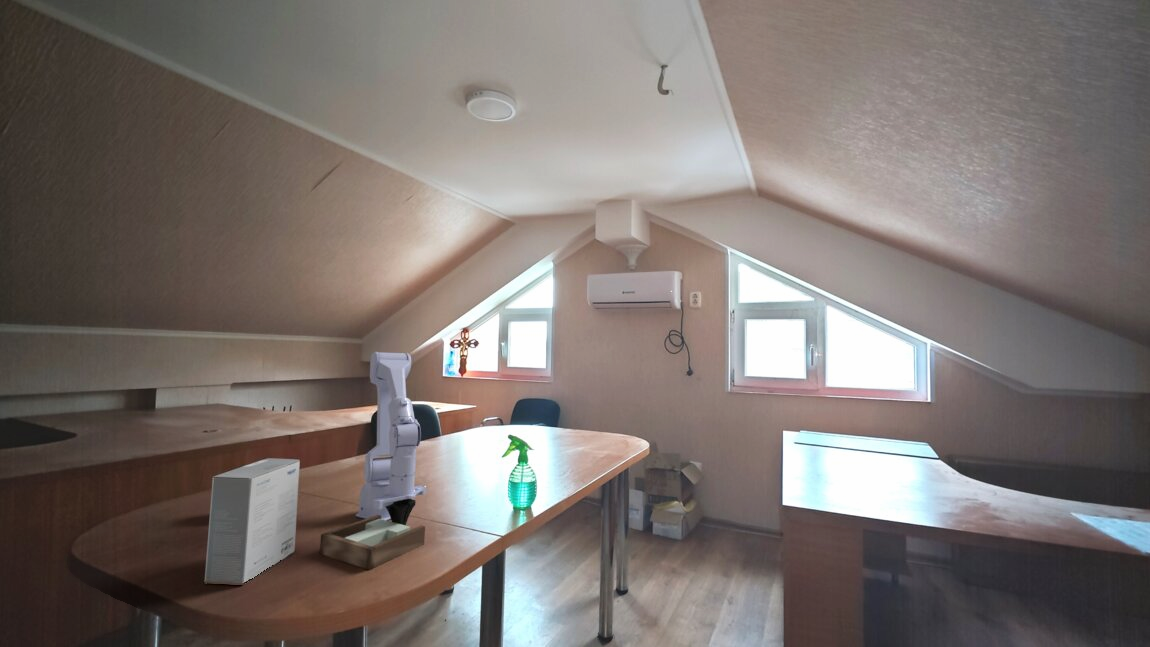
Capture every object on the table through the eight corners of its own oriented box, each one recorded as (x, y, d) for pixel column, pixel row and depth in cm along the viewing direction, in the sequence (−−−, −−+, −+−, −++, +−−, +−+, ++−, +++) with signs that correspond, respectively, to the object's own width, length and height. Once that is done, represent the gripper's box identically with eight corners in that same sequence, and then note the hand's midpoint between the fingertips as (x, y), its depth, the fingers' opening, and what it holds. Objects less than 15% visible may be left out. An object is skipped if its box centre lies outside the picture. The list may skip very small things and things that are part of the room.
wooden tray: (319, 553, 100) (320, 534, 100) (376, 531, 114) (377, 514, 114) (369, 570, 93) (370, 549, 94) (424, 544, 107) (425, 526, 107)
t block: (333, 554, 100) (334, 535, 100) (378, 535, 111) (379, 518, 111) (365, 564, 96) (367, 544, 96) (409, 544, 107) (410, 526, 107)
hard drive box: (261, 550, 101) (269, 457, 102) (295, 552, 100) (302, 459, 102) (201, 585, 85) (211, 475, 87) (241, 587, 85) (251, 477, 86)
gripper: (390, 483, 103) (386, 546, 102) (436, 470, 116) (433, 525, 115) (368, 478, 106) (364, 539, 105) (415, 466, 119) (411, 520, 118)
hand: (398, 532), depth 110 cm, fingers closed
